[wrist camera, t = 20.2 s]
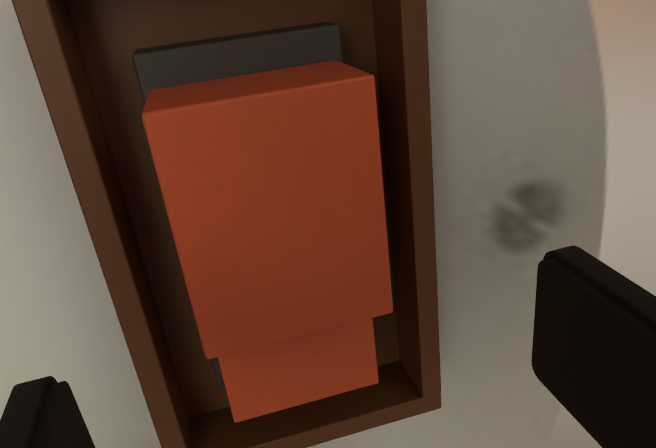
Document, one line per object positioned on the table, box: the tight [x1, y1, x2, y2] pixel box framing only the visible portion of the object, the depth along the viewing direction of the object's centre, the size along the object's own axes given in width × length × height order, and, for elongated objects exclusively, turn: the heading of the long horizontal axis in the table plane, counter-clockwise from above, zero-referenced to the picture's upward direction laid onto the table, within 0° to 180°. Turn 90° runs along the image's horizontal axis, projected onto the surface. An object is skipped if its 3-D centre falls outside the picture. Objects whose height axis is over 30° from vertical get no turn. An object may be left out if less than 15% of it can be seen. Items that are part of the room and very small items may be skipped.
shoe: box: [132, 22, 393, 423], centre depth 17 cm, size 12×6×5 cm, turn 7°
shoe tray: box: [12, 0, 441, 448], centre depth 18 cm, size 18×11×3 cm, turn 7°
